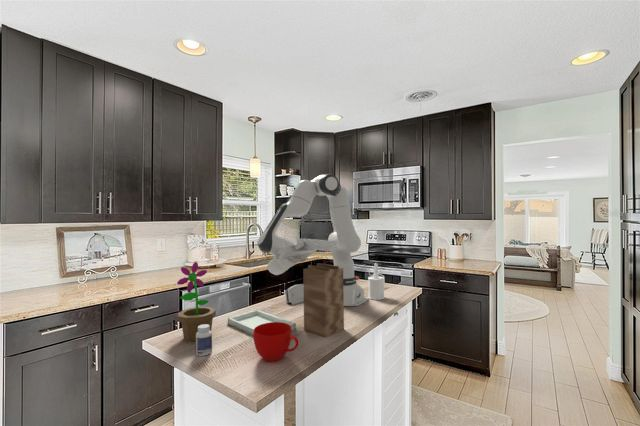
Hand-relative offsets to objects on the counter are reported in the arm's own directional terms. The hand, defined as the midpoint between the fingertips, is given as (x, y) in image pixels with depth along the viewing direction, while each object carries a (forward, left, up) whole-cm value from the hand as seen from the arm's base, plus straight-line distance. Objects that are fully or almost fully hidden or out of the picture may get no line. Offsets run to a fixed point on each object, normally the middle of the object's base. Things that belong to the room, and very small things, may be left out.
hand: (308, 242), depth 139 cm
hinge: (-23, -31, -37) cm, 53 cm away
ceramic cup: (+30, +15, -37) cm, 50 cm away
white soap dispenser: (-56, -1, -37) cm, 67 cm away
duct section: (0, +5, -2) cm, 5 cm away
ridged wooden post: (0, +9, -36) cm, 37 cm away
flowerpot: (+40, -24, -37) cm, 59 cm away
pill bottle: (+45, -8, -37) cm, 59 cm away
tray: (+16, -14, -36) cm, 42 cm away
